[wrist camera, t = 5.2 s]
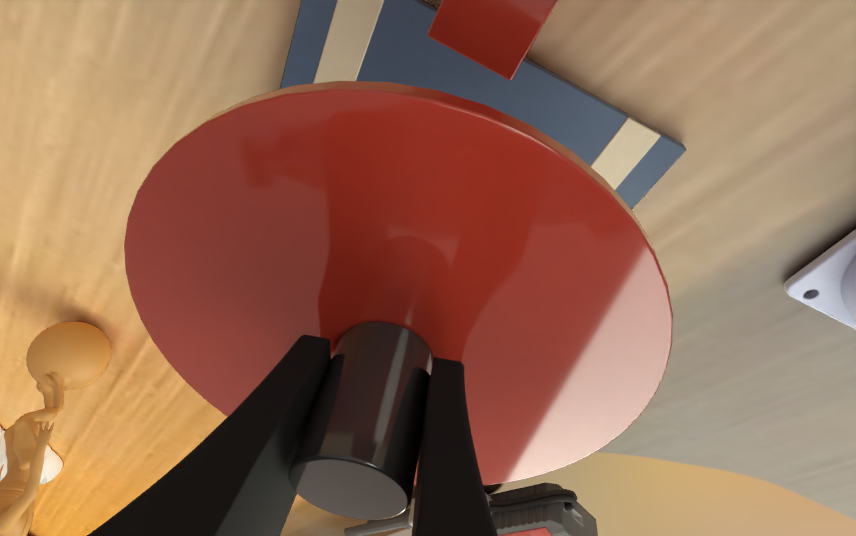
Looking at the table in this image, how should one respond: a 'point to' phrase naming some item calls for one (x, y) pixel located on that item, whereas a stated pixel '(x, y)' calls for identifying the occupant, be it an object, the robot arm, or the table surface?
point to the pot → (491, 30)
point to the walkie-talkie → (514, 514)
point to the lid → (400, 281)
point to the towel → (473, 85)
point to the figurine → (46, 412)
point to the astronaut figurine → (50, 464)
